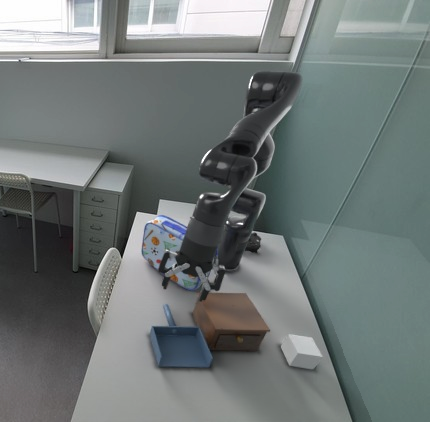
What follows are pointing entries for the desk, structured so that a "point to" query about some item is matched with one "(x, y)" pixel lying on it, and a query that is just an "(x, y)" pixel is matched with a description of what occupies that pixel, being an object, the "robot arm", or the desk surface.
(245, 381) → the desk surface
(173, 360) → the dustpan
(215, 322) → the storage box
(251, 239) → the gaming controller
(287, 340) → the white cube
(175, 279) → the lunch box
